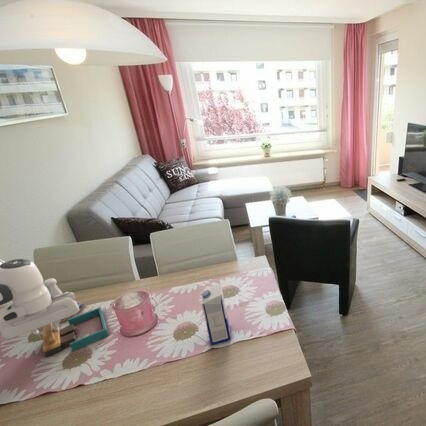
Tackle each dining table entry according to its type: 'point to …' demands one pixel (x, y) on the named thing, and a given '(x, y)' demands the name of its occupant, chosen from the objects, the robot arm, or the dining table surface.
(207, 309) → the milk carton
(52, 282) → the salt shaker
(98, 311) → the corral
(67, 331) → the chip
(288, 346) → the dining table surface
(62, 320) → the woven mat
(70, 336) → the chip
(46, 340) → the brush
